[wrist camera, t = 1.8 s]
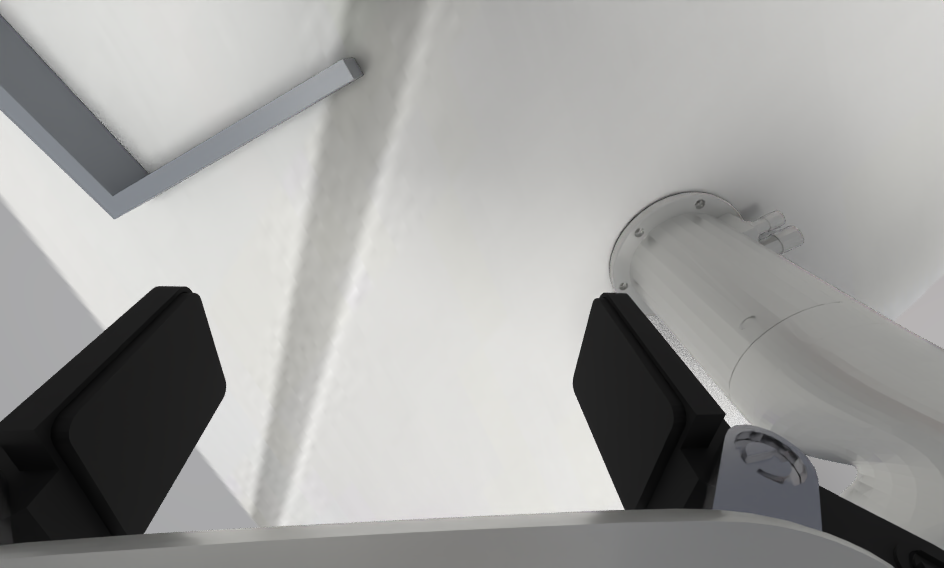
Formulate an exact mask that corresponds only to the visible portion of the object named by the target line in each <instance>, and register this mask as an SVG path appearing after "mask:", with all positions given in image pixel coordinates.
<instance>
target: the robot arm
mask: <svg viewBox="0 0 944 568" xmlns="http://www.w3.org/2000/svg"><path fill="white" fill-rule="evenodd" d="M785 221H786V220H785V217H784V215H783V214H782V213H781V212H780V211H774V212H772V213H769V214H767V215H765V216H763V217H761V218H760V219H758V220H756V221H753V222H751V221H744V220H743V218H742V216H741V215H740V214H739V212H738V211H737V209H736V208H735V207H733V206H732V205H731V204H730V203H729V202H727V201H725V200H723V199H721V198H719V197H717V196H714V195H711V194H708V193H700V192H689V193H681V194H677V195H674V196H670V197H667V198H665V199H663V200H661V201H658V202H656V203H654V204H653V205H651V206H650V207H648V208H647V209H645V210H644V211H642V212H641V213H640V214H639V215H638V216H637V217H636V218H635V219H633V220H632V221H631V222H630V224H629V225H628V226H627V227H626V229H625V230H624V231H623V232H622V234H621V236H620V237H619V239H618V241H617V243H616V245H615V247H614V250H613V253H612V256H611V262H610V279H611V283H612V286H613V289H614V290H615V292H616V293H603V294H602V295H601V296H600V298H596V299H595V300H594V301H593V304H592V307H591V311H590V315H589V319H588V323H587V327H586V330H585V334H584V338H583V342H582V346H581V350H580V354H579V357H578V361H577V365H576V369H575V373H574V377H573V389H574V392H575V395H576V397H577V400H578V402H579V404H580V407H581V409H582V411H583V414H584V416H585V418H586V421H587V423H588V425H589V428H590V430H591V432H592V435H593V437H594V439H595V442H596V444H597V446H598V449H599V451H600V453H601V456H602V458H603V460H604V463H605V465H606V467H607V470H608V472H609V474H610V477H611V479H612V481H613V484H614V486H615V488H616V491H617V493H618V495H619V498H620V500H621V502H622V505H623V507H624V509H625V510H609V511H582V512H561V513H539V514H517V515H495V516H473V517H453V518H433V519H413V520H393V521H374V522H354V523H335V524H316V525H297V526H279V527H261V528H243V529H227V530H208V531H191V532H173V533H157V534H144V532H145V531H146V529H147V527H148V526H149V524H150V522H151V521H152V519H153V517H154V516H155V514H156V512H157V510H158V509H159V507H160V505H161V504H162V502H163V500H164V498H165V497H166V495H167V493H168V491H169V490H170V488H171V487H172V485H173V483H174V481H175V480H176V478H177V476H178V475H179V473H180V471H181V469H182V468H183V466H184V464H185V463H186V461H187V459H188V457H189V456H190V454H191V452H192V451H193V449H194V447H195V446H196V444H197V442H198V440H199V439H200V437H201V435H202V434H203V432H204V430H205V428H206V427H207V425H208V423H209V422H210V420H211V418H212V416H213V415H214V413H215V411H216V410H217V408H218V406H219V404H220V403H221V401H222V399H223V397H224V395H225V392H226V381H225V377H224V374H223V371H222V367H221V364H220V361H219V357H218V354H217V351H216V348H215V344H214V341H213V338H212V334H211V331H210V328H209V324H208V321H207V318H206V314H205V311H204V308H203V304H202V301H201V298H200V296H199V295H198V294H196V293H192V291H191V290H190V289H189V288H188V287H175V286H158V287H155V288H153V289H152V290H151V291H150V292H149V293H147V294H146V295H145V296H144V297H143V298H142V299H141V300H139V301H138V302H137V303H136V304H135V305H134V306H133V307H131V308H130V309H129V310H128V311H127V312H126V313H125V314H123V315H122V316H121V317H120V318H119V319H118V320H117V321H115V322H114V323H113V324H112V325H111V326H110V327H108V328H107V329H106V330H105V331H104V332H103V333H102V334H101V335H99V336H98V337H97V338H96V339H95V340H94V341H92V342H91V343H90V344H89V345H88V346H87V347H86V348H84V349H83V350H82V351H81V352H80V353H79V354H78V355H76V356H75V357H74V358H73V359H72V360H71V361H70V362H68V363H67V364H66V365H65V366H64V367H63V368H62V369H60V370H59V371H58V372H57V373H56V374H55V375H54V376H52V377H51V378H50V379H49V380H48V381H47V382H46V383H44V384H43V385H42V386H41V387H40V388H39V389H37V390H36V391H35V392H34V393H33V394H32V395H31V396H30V397H28V398H27V399H26V400H25V401H24V402H23V403H21V404H20V405H19V406H18V407H17V408H16V409H15V410H13V411H12V412H11V413H10V414H9V415H8V416H7V417H5V418H4V419H3V420H2V421H1V422H0V568H944V349H942V348H941V347H939V346H936V345H935V344H933V343H931V342H929V341H928V340H926V339H924V338H922V337H920V336H918V335H917V334H915V333H913V332H911V331H909V330H907V329H906V328H904V327H902V326H900V325H899V324H897V323H895V322H893V321H892V320H890V319H888V318H887V317H885V316H883V315H881V314H880V313H878V312H876V311H875V310H873V309H871V308H869V307H868V306H866V305H864V304H863V303H861V302H859V301H857V300H856V299H854V298H852V297H851V296H849V295H847V294H845V293H844V292H842V291H840V290H839V289H837V288H835V287H834V286H832V285H830V284H828V283H827V282H825V281H823V280H822V279H820V278H818V277H816V276H815V275H813V274H811V273H810V272H808V271H806V270H804V269H803V268H801V267H799V266H798V265H796V264H794V263H793V262H791V261H789V260H787V259H786V258H784V257H782V256H781V255H779V254H782V253H785V252H787V251H789V250H792V249H794V248H796V247H799V246H801V245H802V244H803V243H804V238H803V235H802V233H801V232H800V231H799V229H797V228H796V227H794V226H789V227H787V228H784V229H782V230H780V231H778V232H775V233H773V234H771V235H769V236H768V237H766V238H764V239H762V240H760V241H759V240H758V238H759V235H760V234H762V233H764V232H767V231H768V232H769V231H771V230H773V229H775V228H778V227H780V226H782V225H784V224H785ZM645 315H648V316H654V317H658V318H659V319H660V320H661V322H662V323H663V324H664V325H665V326H666V327H667V329H668V330H669V331H670V332H671V333H672V334H673V335H674V337H675V338H676V339H677V340H678V341H679V342H680V344H681V345H682V346H683V347H684V348H685V349H686V351H687V352H688V353H689V354H690V355H691V356H692V358H693V359H694V360H695V361H696V362H697V363H698V365H699V366H700V367H701V368H702V369H703V370H704V372H705V373H706V374H707V375H708V376H709V377H710V379H711V380H712V381H713V382H714V383H715V384H716V385H717V387H718V388H719V389H720V390H721V391H722V392H723V394H724V395H725V396H726V397H727V398H728V399H729V401H730V402H731V403H732V404H733V405H734V406H735V407H736V409H737V410H738V411H739V412H740V413H741V414H742V416H743V417H744V418H745V419H746V420H747V421H748V422H749V423H750V424H751V425H736V426H734V427H732V428H731V427H730V426H729V425H728V424H727V422H726V421H725V420H724V417H725V415H726V414H725V412H724V411H723V410H722V409H721V407H720V406H719V405H718V404H717V403H716V401H715V400H714V399H713V398H712V396H711V395H710V394H709V393H708V392H707V390H706V389H705V388H704V387H703V385H702V384H701V383H700V382H699V381H698V379H697V378H696V377H695V376H694V374H693V373H692V372H691V371H690V369H689V368H688V367H687V366H686V365H685V363H684V362H683V361H682V360H681V358H680V357H679V356H678V355H677V354H676V352H675V351H674V350H673V349H672V347H671V346H670V345H669V344H668V343H667V341H666V340H665V339H664V338H663V336H662V335H661V334H660V333H659V332H658V330H657V329H656V328H655V327H654V325H653V324H652V323H651V322H650V321H649V319H648V318H647V317H646V316H645ZM806 455H807V456H811V457H815V458H819V459H823V460H828V461H832V462H837V463H842V464H848V465H852V466H854V467H855V468H856V469H857V476H856V479H855V480H854V482H853V483H852V484H851V485H850V486H849V487H847V488H846V489H845V490H844V491H843V492H841V493H840V494H839V495H836V494H834V493H832V492H831V491H829V490H827V489H825V488H823V487H821V486H819V484H818V477H817V474H816V470H815V468H814V466H813V465H812V463H811V462H810V460H809V459H808V457H807V456H806Z"/></svg>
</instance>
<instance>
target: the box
mask: <svg viewBox="0 0 944 568" xmlns="http://www.w3.org/2000/svg"><path fill="white" fill-rule="evenodd" d="M361 76H363V73H362V71H361V70H360V68H359V66H358V64H357V62H356V61H355V59H354V58H347V59H342V60H340V61H338V62H337V63H335V64H333V65H332V66H330V67H328V68H327V69H325V70H323V71H322V72H320V73H318V74H317V75H315V76H313V77H312V78H310V79H308V80H307V81H305V82H303V83H301V84H300V85H298V86H296V87H295V88H293V89H291V90H290V91H288V92H286V93H285V94H283V95H281V96H280V97H278V98H276V99H275V100H273V101H271V102H270V103H268V104H266V105H265V106H263V107H261V108H260V109H258V110H256V111H255V112H253V113H251V114H250V115H248V116H246V117H245V118H243V119H241V120H240V121H238V122H236V123H234V124H233V125H231V126H229V127H228V128H226V129H224V130H223V131H221V132H219V133H218V134H216V135H214V136H213V137H211V138H209V139H208V140H206V141H204V142H203V143H201V144H199V145H198V146H196V147H194V148H193V149H191V150H189V151H188V152H186V153H184V154H183V155H181V156H179V157H178V158H176V159H174V160H173V161H171V162H169V163H167V164H166V165H164V166H162V167H161V168H159V169H157V170H156V171H154V172H152V173H151V174H148V173H147V172H146V171H145V170H144V169H143V168H142V167H141V165H140V164H139V163H138V162H137V161H136V160H135V159H134V158H133V157H132V156H131V155H130V154H129V153H128V151H127V150H126V149H125V148H124V147H123V146H122V145H121V144H120V143H119V142H118V141H117V140H116V139H115V138H114V136H113V135H112V134H111V133H110V132H109V131H108V130H107V129H106V128H105V127H104V126H103V125H102V124H101V122H100V121H99V120H98V119H97V118H96V117H95V116H94V115H93V114H92V113H91V112H90V111H89V110H88V108H87V107H86V106H85V105H84V104H83V103H82V102H81V101H80V100H79V99H78V98H77V97H76V96H75V95H74V93H73V92H72V91H71V90H70V89H69V88H68V87H67V86H66V85H65V84H64V83H63V82H62V81H61V79H60V78H59V77H58V76H57V75H56V74H55V73H54V72H53V71H52V70H51V69H50V68H49V67H48V65H47V64H46V63H45V62H44V61H43V60H42V59H41V58H40V57H39V56H38V55H37V54H36V53H35V52H34V50H33V49H32V48H31V47H30V46H29V45H28V44H27V43H26V42H25V41H24V40H23V39H22V38H21V36H20V35H19V34H18V33H17V32H16V31H15V30H14V29H13V28H12V27H11V26H10V25H9V24H8V23H7V21H6V20H5V19H4V18H3V17H2V16H1V15H0V110H1V111H2V112H3V113H4V114H5V115H6V116H7V117H8V118H9V119H10V120H11V121H12V122H14V123H15V124H16V125H17V126H18V127H19V128H20V129H21V130H22V131H23V132H24V133H25V134H26V135H27V136H28V137H29V138H30V139H31V140H32V141H33V142H34V143H35V144H36V145H37V146H38V147H40V148H41V149H42V150H43V151H44V152H45V153H46V154H47V155H48V156H49V157H50V158H51V159H52V160H53V161H54V162H55V163H56V164H57V165H58V166H59V167H60V168H61V169H62V170H63V171H64V172H66V173H67V174H68V175H69V176H70V177H71V178H72V179H73V180H74V181H75V182H76V183H77V184H78V185H79V186H80V187H81V188H82V189H83V190H84V191H85V192H86V193H87V194H88V195H89V196H90V197H92V198H93V199H94V200H95V201H96V202H97V203H98V204H99V205H100V206H101V207H102V208H103V209H104V210H105V211H106V212H107V213H108V214H109V215H110V216H111V217H112V218H113V219H116V218H118V217H120V216H122V215H123V214H125V213H127V212H129V211H131V210H133V209H134V208H136V207H138V206H140V205H142V204H143V203H145V202H147V201H149V200H151V199H153V198H154V197H156V196H158V195H159V194H161V193H163V192H165V191H166V190H168V189H170V188H171V187H173V186H175V185H177V184H178V183H180V182H182V181H183V180H185V179H187V178H189V177H190V176H192V175H194V174H195V173H197V172H199V171H200V170H202V169H204V168H206V167H207V166H209V165H211V164H212V163H214V162H216V161H218V160H219V159H221V158H223V157H224V156H226V155H228V154H230V153H231V152H233V151H235V150H236V149H238V148H240V147H242V146H243V145H245V144H247V143H248V142H250V141H252V140H253V139H255V138H257V137H259V136H260V135H262V134H264V133H265V132H267V131H269V130H271V129H272V128H274V127H276V126H277V125H279V124H281V123H283V122H284V121H286V120H288V119H289V118H291V117H293V116H295V115H296V114H298V113H300V112H301V111H303V110H305V109H306V108H308V107H310V106H312V105H313V104H315V103H317V102H318V101H320V100H322V99H324V98H325V97H327V96H329V95H330V94H332V93H334V92H336V91H337V90H339V89H341V88H342V87H344V86H346V85H347V84H349V83H351V82H353V81H354V80H356V79H358V78H359V77H361Z"/></svg>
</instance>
